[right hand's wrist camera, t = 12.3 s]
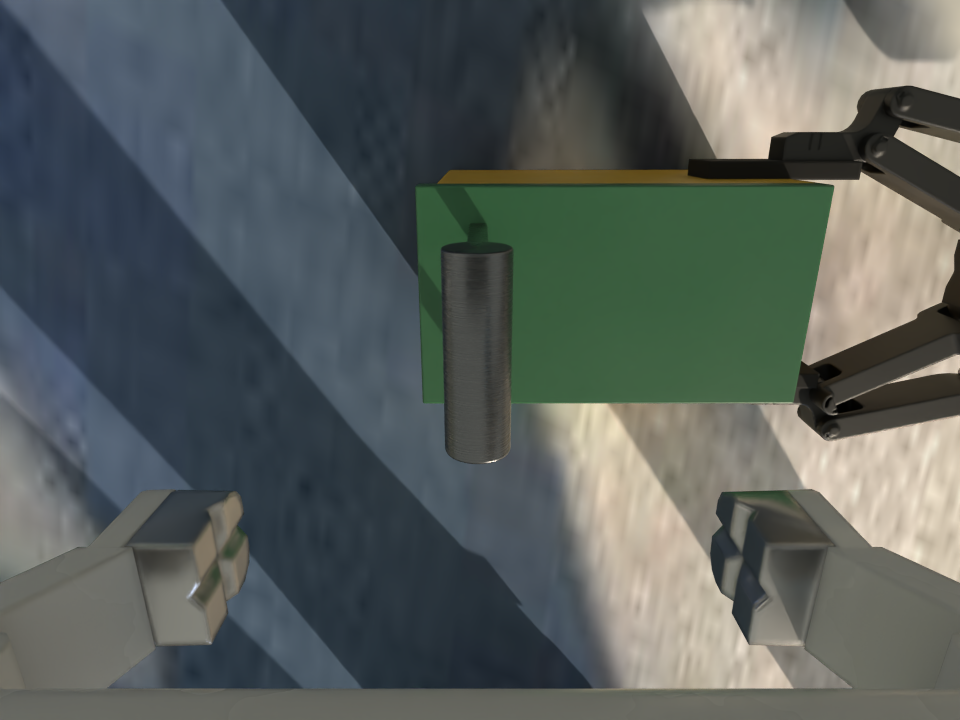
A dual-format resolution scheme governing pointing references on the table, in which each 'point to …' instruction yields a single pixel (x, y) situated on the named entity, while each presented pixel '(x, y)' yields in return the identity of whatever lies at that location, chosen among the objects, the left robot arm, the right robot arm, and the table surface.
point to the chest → (588, 177)
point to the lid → (610, 296)
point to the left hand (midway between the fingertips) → (685, 275)
